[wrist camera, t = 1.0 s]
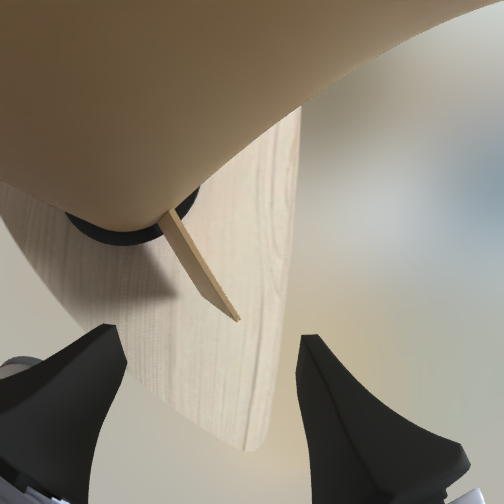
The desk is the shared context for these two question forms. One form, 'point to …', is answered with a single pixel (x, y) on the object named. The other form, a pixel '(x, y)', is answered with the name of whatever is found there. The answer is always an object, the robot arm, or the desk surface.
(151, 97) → the tan pedal trash can
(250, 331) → the desk surface
